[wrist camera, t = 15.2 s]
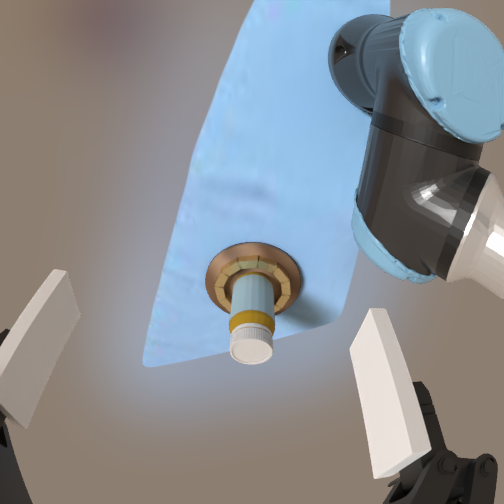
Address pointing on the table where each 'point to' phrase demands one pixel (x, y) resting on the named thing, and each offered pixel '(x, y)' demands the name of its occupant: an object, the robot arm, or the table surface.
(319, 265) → the table surface
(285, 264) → the ring tray
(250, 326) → the bottle
